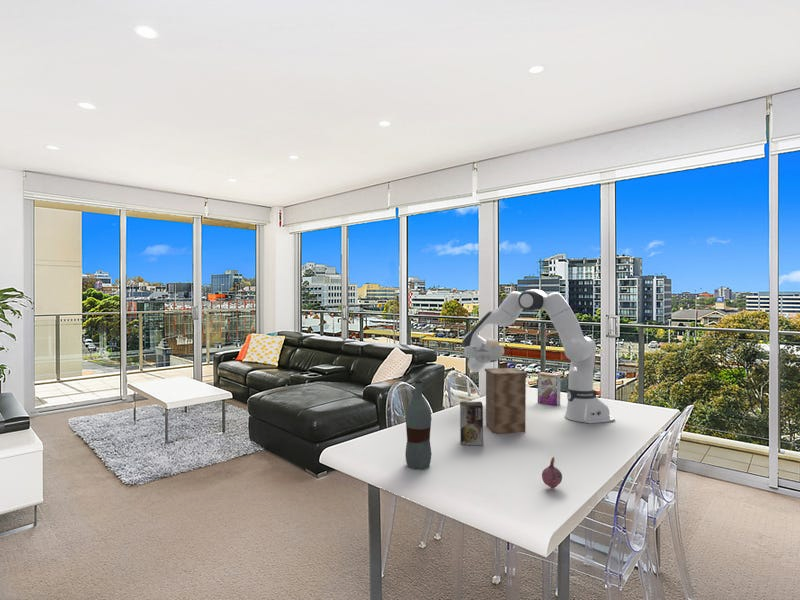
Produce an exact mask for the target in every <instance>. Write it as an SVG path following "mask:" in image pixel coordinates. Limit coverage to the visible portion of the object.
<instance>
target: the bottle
mask: <svg viewBox="0 0 800 600" xmlns="http://www.w3.org/2000/svg"><path fill="white" fill-rule="evenodd" d="M404 418H405V427H406V429H405V430H406V445H405V462H406V466H407V467H408V468H409V469H411V468H412V469H411V470H417V469H421V470H426V469H428V468H429V467H430V465H431V462H432V447H431V441H430V440H431V428H432V427H431V426H432V411H431V408H430V406H429V404H428V402H427V401H426V399H425V398H424V396H423V380H422V379H415V380H414V396H413V398H411V401H410V402H409V404H408V405H407V407H406V412H405V417H404ZM427 467H428V468H427ZM425 468H426V469H425Z"/></svg>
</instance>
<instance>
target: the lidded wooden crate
mask: <svg viewBox="0 0 800 600" xmlns="http://www.w3.org/2000/svg"><path fill="white" fill-rule="evenodd" d="M484 372H485V426H486V428H488V430H490V431H491V432H492V433H493V434H494V433H496V434H518V433H517V432H524V433H526V415H527V413H526V411H527V410H526V401H527V400H526V399H527V397H526V394H527V393H526V391H527V388H526V382H527V381H526V379H527V376H528V372H526V371H524V370H522V369H519V368H517V367H501V368H497V367H496V368H493V367H492V368H484Z"/></svg>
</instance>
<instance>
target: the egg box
mask: <svg viewBox="0 0 800 600" xmlns="http://www.w3.org/2000/svg"><path fill="white" fill-rule="evenodd" d="M486 340H487V341H486V342H481V344H483V346H484V347H483V348H482V349H484V350H487V351H489V352H500V346H501V345H500V342H499V341H498V340H497V339H494V338H492V337H489V338H488V339H486Z"/></svg>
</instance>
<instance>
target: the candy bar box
mask: <svg viewBox="0 0 800 600" xmlns="http://www.w3.org/2000/svg"><path fill="white" fill-rule="evenodd" d="M561 377H562V376H561V374H559V373H551V372H545V371H544V372H543V371H541V372H538V373H537V403H539V402H540V403H541V404H545V403H546V405H551V404H552V405H553V406H559V405H561ZM558 404H559V405H558ZM552 405H551V406H552Z"/></svg>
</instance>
